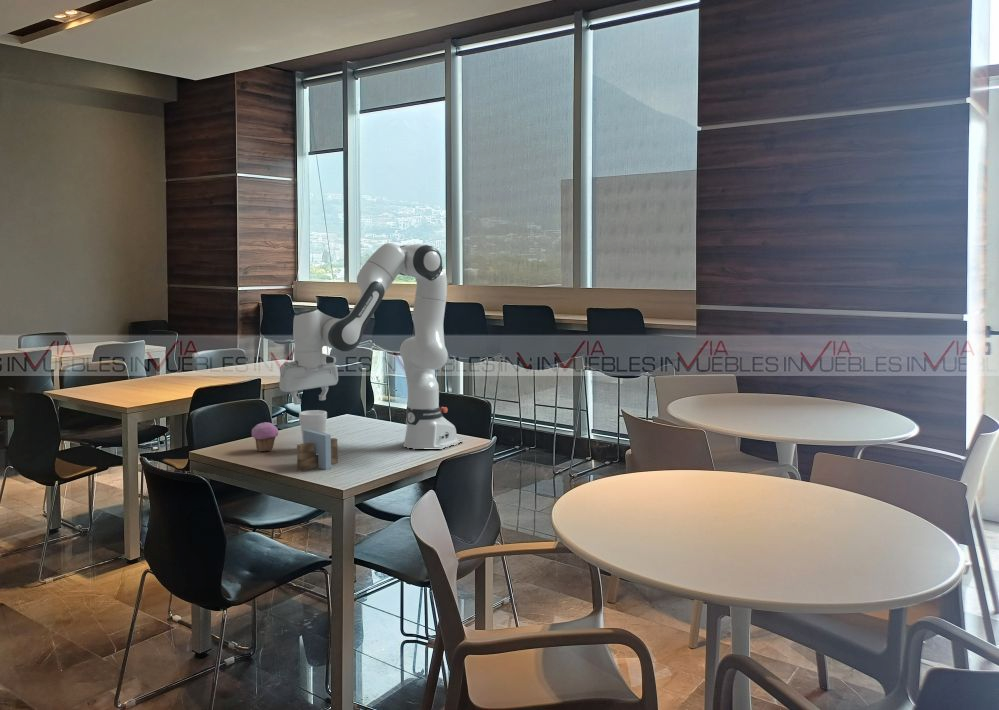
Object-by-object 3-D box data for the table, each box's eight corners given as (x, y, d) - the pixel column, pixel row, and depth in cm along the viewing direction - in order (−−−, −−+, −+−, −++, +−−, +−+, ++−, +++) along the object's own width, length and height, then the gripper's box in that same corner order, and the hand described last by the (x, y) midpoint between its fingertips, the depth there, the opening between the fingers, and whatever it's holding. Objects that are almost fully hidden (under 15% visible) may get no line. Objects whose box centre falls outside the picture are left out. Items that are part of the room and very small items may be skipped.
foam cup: (330, 446, 279) (330, 410, 277) (322, 452, 270) (321, 415, 268) (305, 445, 280) (304, 410, 278) (295, 451, 270) (295, 414, 269)
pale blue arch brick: (303, 463, 255) (303, 430, 253) (309, 462, 256) (308, 429, 255) (325, 469, 247) (325, 435, 245) (331, 468, 248) (330, 434, 247)
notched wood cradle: (334, 461, 257) (333, 438, 256) (337, 462, 256) (337, 438, 255) (297, 469, 247) (296, 444, 246) (301, 470, 245) (300, 445, 244)
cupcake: (274, 446, 278) (273, 419, 277) (281, 451, 270) (281, 423, 269) (248, 449, 273) (247, 421, 272) (255, 454, 266) (255, 425, 264)
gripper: (285, 363, 240) (287, 408, 242) (340, 357, 255) (341, 399, 257) (274, 362, 244) (276, 405, 246) (328, 355, 259) (330, 396, 261)
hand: (310, 402), depth 252 cm, fingers open, 8 cm apart
